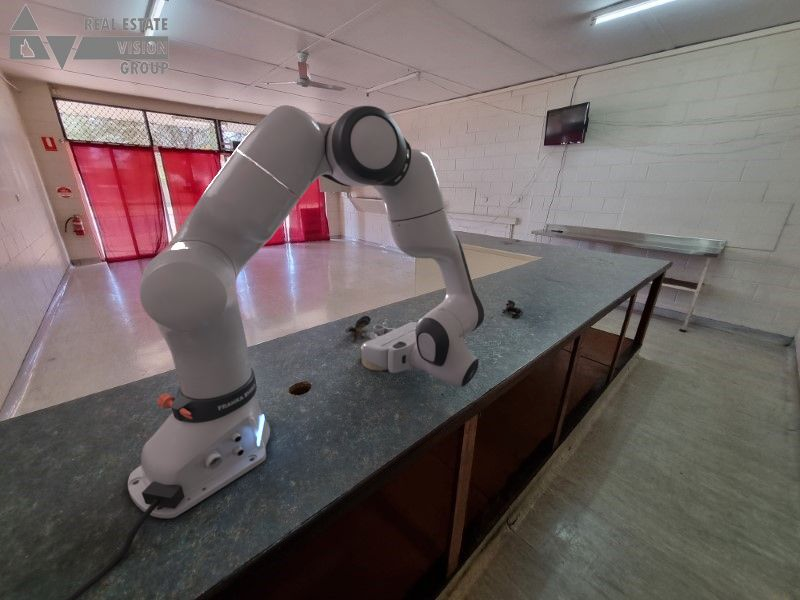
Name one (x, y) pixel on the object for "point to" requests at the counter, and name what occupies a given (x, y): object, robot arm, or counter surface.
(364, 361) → the beige round bowl
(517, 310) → the horse figurine
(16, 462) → the counter surface
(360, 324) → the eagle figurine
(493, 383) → the counter surface
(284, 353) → the counter surface
